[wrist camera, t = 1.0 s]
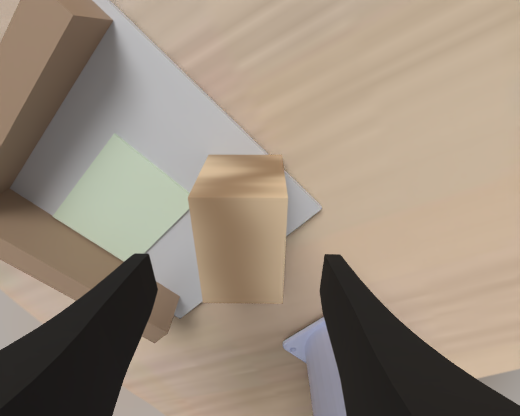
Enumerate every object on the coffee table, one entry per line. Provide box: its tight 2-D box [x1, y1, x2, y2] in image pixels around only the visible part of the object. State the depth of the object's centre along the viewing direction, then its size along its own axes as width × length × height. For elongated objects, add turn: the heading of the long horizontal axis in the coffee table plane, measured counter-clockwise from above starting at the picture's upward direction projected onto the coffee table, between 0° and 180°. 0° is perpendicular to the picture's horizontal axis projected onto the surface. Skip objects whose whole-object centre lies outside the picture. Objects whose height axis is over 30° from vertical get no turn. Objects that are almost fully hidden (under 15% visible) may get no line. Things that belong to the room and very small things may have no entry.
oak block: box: [188, 155, 288, 304], centre depth 15 cm, size 4×6×5 cm, turn 0°
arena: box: [0, 0, 322, 343], centre depth 16 cm, size 16×14×4 cm
